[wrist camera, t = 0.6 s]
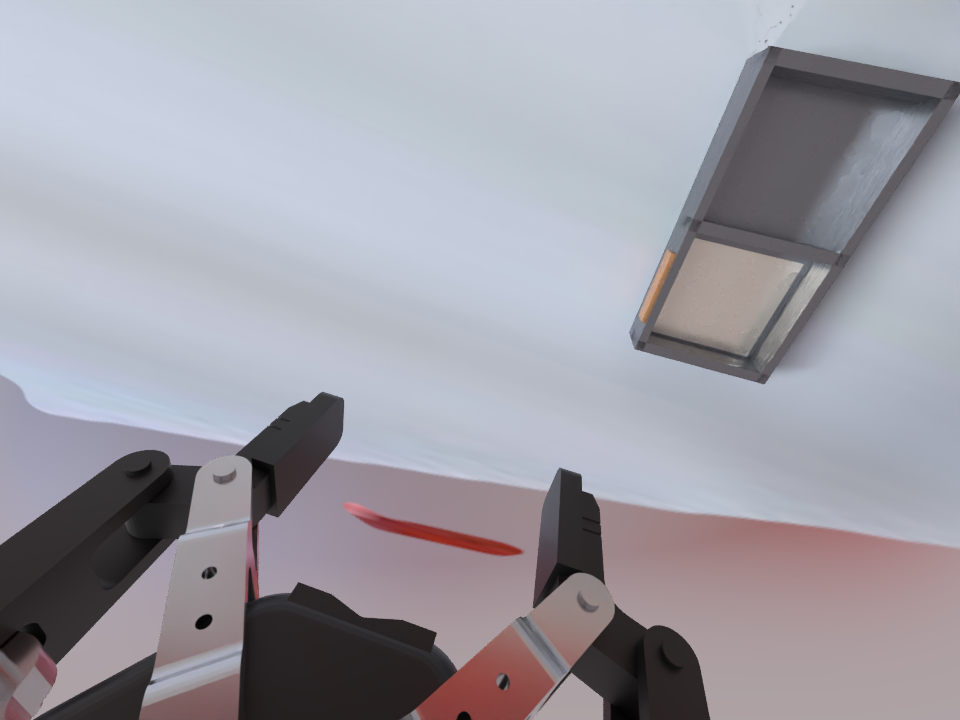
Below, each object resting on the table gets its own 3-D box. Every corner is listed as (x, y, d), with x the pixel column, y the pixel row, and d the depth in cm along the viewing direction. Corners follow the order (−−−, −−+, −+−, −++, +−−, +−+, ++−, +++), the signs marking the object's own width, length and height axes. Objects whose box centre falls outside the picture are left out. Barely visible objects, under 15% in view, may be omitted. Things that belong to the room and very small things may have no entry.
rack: (743, 59, 32) (766, 45, 28) (921, 94, 30) (971, 84, 27) (626, 331, 44) (631, 348, 40) (750, 364, 42) (767, 385, 39)
